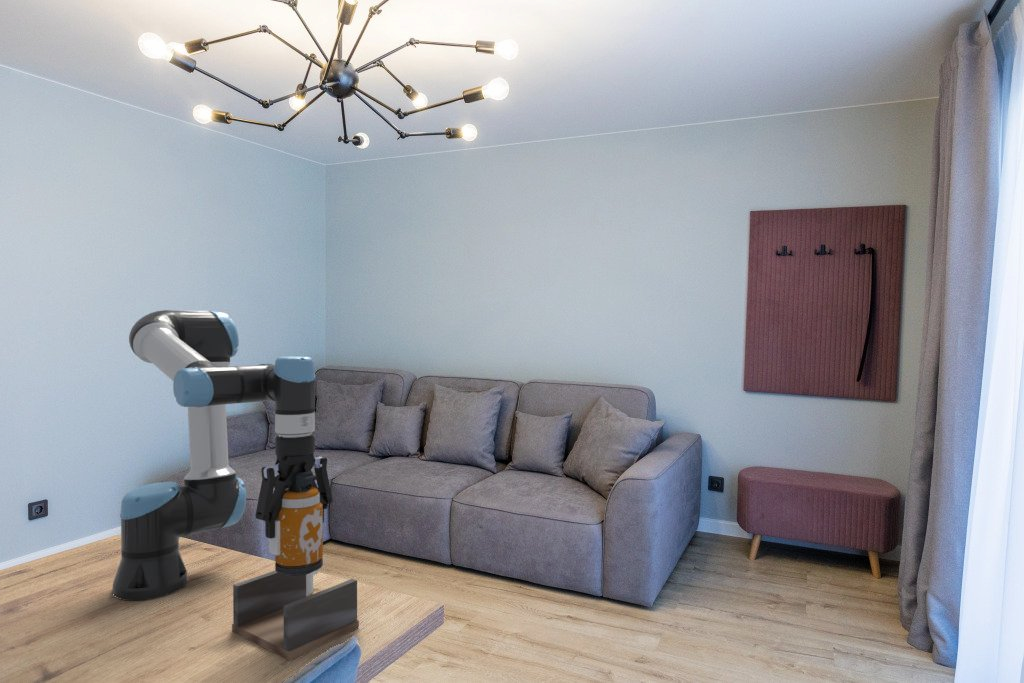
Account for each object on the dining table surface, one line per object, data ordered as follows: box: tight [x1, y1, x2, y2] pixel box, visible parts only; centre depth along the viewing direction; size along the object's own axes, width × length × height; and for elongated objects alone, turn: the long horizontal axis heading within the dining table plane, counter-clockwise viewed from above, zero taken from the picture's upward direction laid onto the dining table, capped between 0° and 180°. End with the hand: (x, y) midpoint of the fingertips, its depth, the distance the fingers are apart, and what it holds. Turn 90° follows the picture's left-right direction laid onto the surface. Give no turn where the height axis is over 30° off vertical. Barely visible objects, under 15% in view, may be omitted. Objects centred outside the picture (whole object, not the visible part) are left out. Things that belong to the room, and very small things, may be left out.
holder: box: [231, 570, 360, 661], centre depth 130 cm, size 19×16×10 cm
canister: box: [274, 471, 324, 576], centre depth 129 cm, size 9×11×20 cm
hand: (295, 546), depth 129 cm, fingers closed on canister, 9 cm apart
